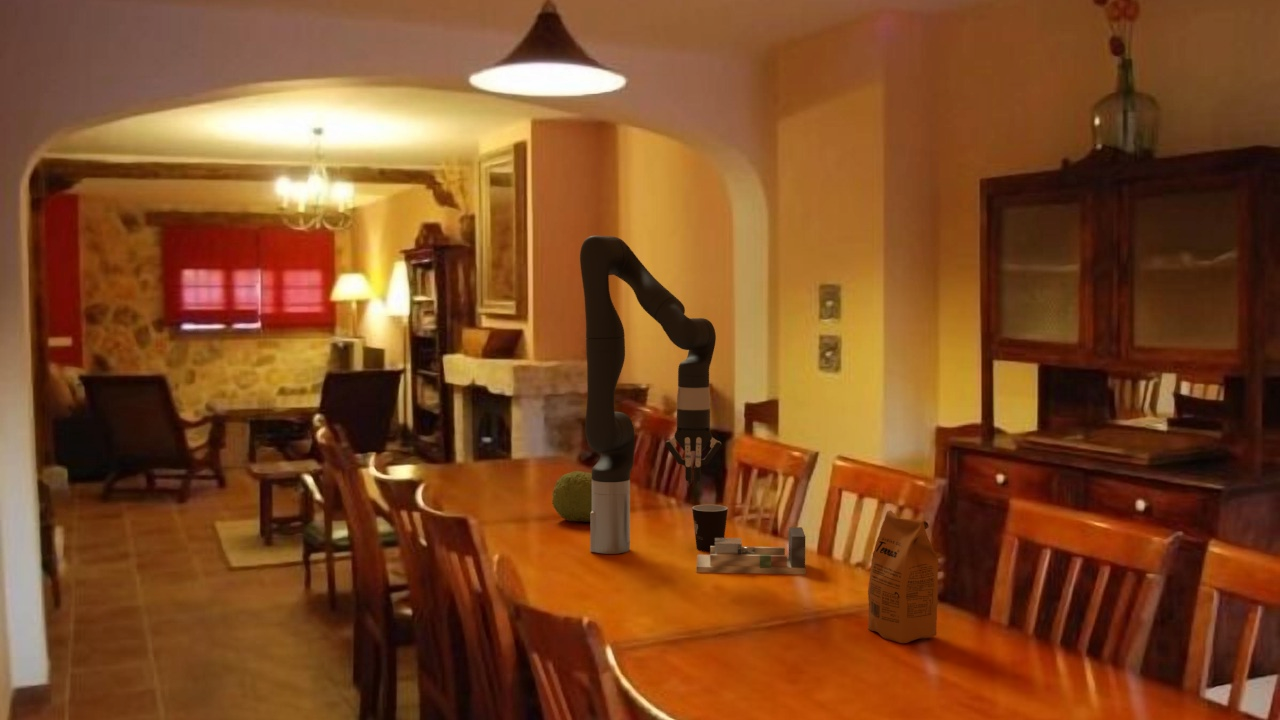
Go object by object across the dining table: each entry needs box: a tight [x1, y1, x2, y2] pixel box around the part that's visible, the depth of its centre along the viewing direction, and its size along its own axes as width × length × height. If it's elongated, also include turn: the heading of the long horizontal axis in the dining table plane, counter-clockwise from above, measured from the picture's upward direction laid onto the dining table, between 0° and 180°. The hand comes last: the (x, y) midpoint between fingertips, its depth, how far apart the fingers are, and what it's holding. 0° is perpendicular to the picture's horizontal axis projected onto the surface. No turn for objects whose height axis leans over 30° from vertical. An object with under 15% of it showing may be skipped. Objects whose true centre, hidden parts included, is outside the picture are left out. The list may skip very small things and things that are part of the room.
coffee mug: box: [691, 504, 729, 553], centre depth 278 cm, size 12×9×10 cm
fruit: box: [551, 470, 592, 523], centre depth 309 cm, size 16×14×15 cm
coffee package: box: [867, 510, 939, 644], centre depth 208 cm, size 10×12×22 cm
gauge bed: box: [696, 526, 806, 575], centre depth 259 cm, size 24×12×8 cm, turn 86°
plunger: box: [715, 537, 756, 554], centre depth 257 cm, size 9×9×4 cm
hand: (693, 482), depth 259 cm, fingers closed
